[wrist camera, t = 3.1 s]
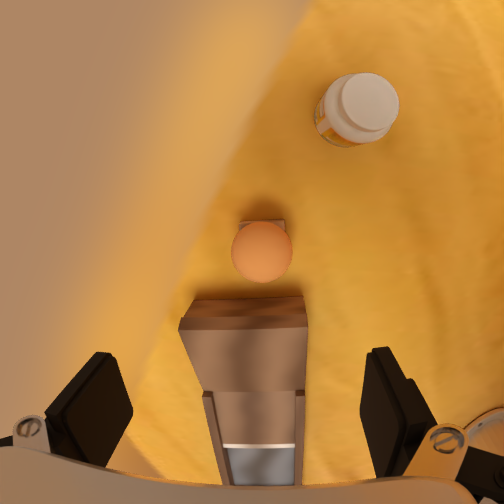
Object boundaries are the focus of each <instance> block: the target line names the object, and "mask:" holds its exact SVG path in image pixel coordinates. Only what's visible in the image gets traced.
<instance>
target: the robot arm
mask: <svg viewBox="0 0 504 504" xmlns="http://www.w3.org/2000/svg"><path fill="white" fill-rule="evenodd" d="M44 413H45V415H46V419H45V420H44V419H43V418H42V417H40V416H37V415H30V416H26V417H23V418H21V419H20V420H19V421H17V422H16V423H15V425H14V427H13V435H12V436H9V437H5V438H2V439H0V504H504V408H499V409H495V410H492V411H490V412H487V413H485V414H484V415H482V416H480V417H479V418H477V419H476V420H475V421H473V422H472V423H471V424H470V425H468V426H467V427H466V428H465V429H464V430H463V429H462V428H461V427H459V426H457V425H454V424H440V425H438V424H437V422H436V420H435V418H434V416H433V415H432V413H431V411H430V409H429V407H428V405H427V403H426V401H425V400H424V398H423V396H422V394H421V392H420V390H419V389H418V387H417V385H416V383H415V381H414V380H413V379H411V378H409V379H406V377H405V375H404V374H403V372H402V370H401V368H400V366H399V364H398V362H397V361H396V359H395V357H394V355H393V353H392V352H391V350H390V348H389V347H379V348H373V349H372V352H370V353H367V357H366V366H365V374H364V382H363V390H362V397H361V403H360V418H361V421H362V425H363V429H364V432H365V436H366V440H367V443H368V447H369V451H370V454H371V458H372V462H373V466H374V470H375V474H376V478H374V479H365V480H356V481H348V482H339V483H328V484H314V485H297V486H232V485H215V484H202V483H192V482H183V481H175V480H168V479H161V478H154V477H148V476H142V475H137V474H131V473H127V472H122V471H117V470H113V469H108V468H105V467H106V465H107V463H108V461H109V459H110V458H111V456H112V454H113V452H114V450H115V448H116V446H117V444H118V442H119V441H120V438H121V437H122V435H123V433H124V431H125V429H126V428H127V426H128V424H129V422H130V420H131V418H132V416H133V407H132V405H131V402H130V399H129V396H128V393H127V391H126V388H125V385H124V382H123V379H122V376H121V373H120V370H119V367H118V363H117V360H116V358H115V357H113V356H112V354H111V353H106V352H105V353H104V352H96V353H95V354H94V355H93V356H92V357H91V358H90V359H89V361H88V362H87V363H86V364H85V365H84V366H83V368H82V369H81V370H80V371H79V372H78V373H77V374H76V375H75V377H74V378H73V379H72V380H71V381H70V382H69V384H68V385H67V386H66V387H65V388H64V389H63V390H62V392H61V393H60V394H59V395H58V396H57V398H56V399H55V400H54V401H53V402H52V403H51V405H50V406H49V407H48V408H47V409H46V411H45V412H44Z"/></svg>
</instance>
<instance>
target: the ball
mask: <svg viewBox="0 0 504 504" xmlns="http://www.w3.org/2000/svg"><path fill="white" fill-rule="evenodd" d="M231 256H232V261H233V264H234V266H235V268H236V269H237V271H238V272H239V273H240V274H241V275H242V276H243V277H245V278H246V279H248V280H250V281H253V282H258V283H266V282H271V281H273V280H276V279H278V278H279V277H280V276H282V275H283V274H284V273H285V272H286V270H287V269H288V267H289V265H290V263H291V260H292V245H291V241H290V239H289V237H288V235H287V234H286V233H285V232H284V231H283V230H282V229H281V228H280V227H279V226H277V225H275V224H273V223H269V222H254V223H251V224H249V225H247V226H245V227H244V228H243V229H241V230H240V231H239V232H238V234H237V235H236V237H235V238H234V241H233V244H232V249H231Z"/></svg>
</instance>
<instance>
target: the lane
mask: <svg viewBox="0 0 504 504" xmlns="http://www.w3.org/2000/svg"><path fill="white" fill-rule="evenodd" d="M178 332H179V334H180V337H181V339H182V342H183V344H184V346H185V349H186V351H187V354H188V356H189V359H190V361H191V363H192V366H193V368H194V370H195V373H196V375H197V377H198V380H199V382H200V384H201V386H202V389H203V391H204V392H203V395H202V400H203V404H204V409H205V413H206V418H207V422H208V427H209V431H210V435H211V440H212V444H213V448H214V452H215V456H216V460H217V464H218V468H219V472H220V476H221V479H222V483H223V485H232V486H297V485H302V470H303V449H304V421H305V376H306V359H307V339H308V322H307V314H306V310H305V304H304V299H303V296H295V297H275V298H252V299H223V300H194V301H193V302H192V304H191V306H190V307H189V309H188V310H187V312H186V314H185V315H184V317H181V320H180V324H179V328H178Z"/></svg>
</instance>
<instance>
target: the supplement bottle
mask: <svg viewBox="0 0 504 504" xmlns="http://www.w3.org/2000/svg"><path fill="white" fill-rule="evenodd" d="M398 112H399V99H398V95H397V93H396V91H395V89H394V87H393V86H392V85H391V84H390V83H389V82H388V81H387V80H386V79H385V78H383V77H381V76H379V75H377V74H374V73H359V74H348V75H344V76H342V77H340V78H338V79H337V80H335V81H334V82H333V83H332V84H331V85H330V87H329V88H328V89H327V91H326V92H325V94H324V95H323V97H322V98H321V99H320V101H319V102H318V104H317V106H316V109H315V113H314V121H315V125H316V128H317V130H318V132H319V134H320V135H321V136H322V137H323V138H324V139H325V140H326V141H328V142H329V143H331V144H333V145H336V146H339V147H353V146H357V145H361V144H366V143H370V142H374V141H376V140H378V139H380V138H382V137H383V136H384V135H385V134H386V133H387V132H388V131H389V129H390V128H391V126H392V124H393V122H394V121H395V119H396V117H397V115H398Z"/></svg>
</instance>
